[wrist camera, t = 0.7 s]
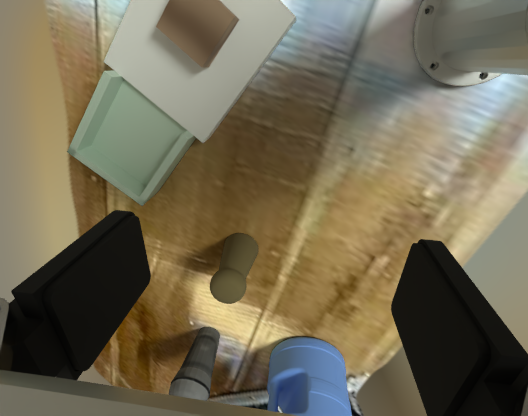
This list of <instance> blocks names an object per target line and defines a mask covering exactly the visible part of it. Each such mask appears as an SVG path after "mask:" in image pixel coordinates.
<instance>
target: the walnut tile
mask: <svg viewBox="0 0 528 416" xmlns="http://www.w3.org/2000/svg"><path fill="white" fill-rule="evenodd" d="M238 21H239V19H238V18H237V17H236V16H235V15H234V14H233V13H232V12H231V11H230V10H229V9H228V8H227V7H226V6H225V5H224V4H223V3H222V2H221V1H220V0H169V2H168V4H167V5H166V7H165V9H164V11H163V13H162V15H161V17H160V19H159V21H158V23H157V25H156V27H157V28H158V29H159V30H160V31H161V32H162V33H164V34H165V35H166V36H167V37H168V38H169V39H170V40H171V41H173V42H174V43H175V44H176V45H177V46H178V47H179V48H180V49H182V50H183V51H184V52H185V53H186V54H187V55H188V56H189V57H191V58H192V59H193V60H194V61H195V62H196V63H197V64H198V65H200V66H201V67H202V68H206V67H210V65H211V63H212V62H213V60H214V59H215V57H216V56H217V54H218V52H219V51H220V49H221V48H222V46H223V45H224V43H225V42H226V40H227V38H228V37H229V35H230V34H231V32H232V31H233V29H234V28H235V26H236V24H237V23H238Z"/></svg>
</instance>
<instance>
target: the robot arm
mask: <svg viewBox="0 0 528 416" xmlns="http://www.w3.org/2000/svg"><path fill="white" fill-rule="evenodd" d="M425 9H428V14H425ZM414 48H415V52H416V57H417V59H418V61H419V63H420V65H421V67H422V68H423V69H424V71H425V72H426V73H427V74H428V75H429V76H431V77H432V78H433V79H435V80H437V81H439V82H441V83H444V84H448V85H453V86H471V85H477V84H481V83H484V82H487V81H489V80H492V79H494V78H496V77H498V76H500V75H501V74H517V75H528V0H423V2H422V4H421V6H420V8H419V11H418V14H417V18H416V21H415V28H414ZM432 63H433V68H430V65H431V64H432ZM480 74H482V75H481V77H479V76H480ZM150 277H151V275H150V269H149V265H148V260H147V255H146V250H145V245H144V240H143V235H142V231H141V226H140V221H139V218H138V217H137V216H135V214H134V213H133V212H130V211H119V210H115V211H113V212H112V213H110V214H109V215H108V216H106V217H105V218H104V219H103V220H101V221H100V222H99V223H97V224H96V225H95V226H94V227H92V228H91V229H90V230H88V231H87V232H86V233H85V234H83V235H82V236H81V237H80V238H78V239H77V240H76V241H74V242H73V243H72V244H71V245H69V246H68V247H67V248H66V249H64V250H63V251H62V252H61V253H59V254H58V255H57V256H56V257H54V258H53V259H51V260H50V261H49V262H48V263H46V264H45V265H44V266H42V267H41V268H40V269H39V270H37V271H36V272H35V273H33V274H32V275H31V276H30V277H28V278H27V279H26V280H25V281H23V282H22V283H21V284H20V285H18V286H17V287H16V288H14V289H13V290H12V294H13V296H14V297H15V299H14V300H13V301H12V302H10V303H8V302H7V301H6V300H5V299H3V298H0V416H297V415H291V414H285V413H279V412H273V411H267V410H260V409H254V408H248V407H242V406H236V405H229V404H223V403H217V402H211V401H205V400H198V399H192V398H186V397H180V396H173V395H167V394H161V393H154V392H148V391H142V390H135V389H129V388H122V387H116V386H109V385H103V384H96V383H90V382H83V381H77V379H78V378H79V376H80V375H81V373H82V372H83V371H86V370H88V369H89V368H90V367H91V365H92V364H93V363H94V361H95V360H96V358H97V357H98V355H99V354H100V353H101V351H102V350H103V348H104V347H105V345H106V344H107V343H108V341H109V340H110V338H111V337H112V335H113V334H114V333H115V331H116V330H117V328H118V327H119V326H120V324H121V323H122V321H123V320H124V318H125V317H126V316H127V314H128V313H129V311H130V310H131V308H132V307H133V306H134V304H135V303H136V301H137V300H138V298H139V297H140V296H141V294H142V293H143V291H144V290H145V288H146V287H147V286H148V284H149V282H150ZM391 311H392V315H393V318H394V321H395V324H396V327H397V330H398V333H399V335H400V338H401V341H402V344H403V347H404V350H405V353H406V356H407V359H408V361H409V364H410V367H411V370H412V373H413V376H414V379H415V381H416V384H417V387H418V390H419V393H420V396H421V399H422V402H423V404H424V407H425V410H426V413H427V416H528V354H527V352H526V351H525V350H524V349H523V347H522V346H521V345H520V343H519V342H518V341H517V340H516V338H515V337H514V336H513V334H512V333H511V331H510V330H509V329H508V328H507V326H506V325H505V324H504V322H503V321H502V320H501V318H500V317H499V316H498V314H497V313H496V312H495V311H494V309H493V308H492V307H491V305H490V304H489V303H488V301H487V300H486V299H485V297H484V296H483V295H482V294H481V292H480V291H479V290H478V288H477V287H476V286H475V284H474V283H473V282H472V280H471V279H470V278H469V276H468V275H467V274H466V273H465V271H464V270H463V269H462V267H461V266H460V265H459V263H458V262H457V261H456V259H455V258H454V257H453V255H452V254H451V253H450V252H449V250H448V249H447V248H446V246H445V245H444V244H443V243H442V242H441V241H434V240H424V239H421V240H419V241H418V243H413V244H412V246H411V249H410V251H409V254H408V257H407V260H406V263H405V266H404V269H403V272H402V275H401V278H400V281H399V283H398V286H397V289H396V292H395V295H394V298H393V301H392V305H391Z"/></svg>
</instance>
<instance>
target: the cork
mask: <svg viewBox="0 0 528 416" xmlns="http://www.w3.org/2000/svg"><path fill="white" fill-rule="evenodd" d="M257 254H258V245H257V243H256V241H255V240H254V239H253V238H252V237H250V236H249V235H247V234H243V233H235V234H232V235H230V236H229V237H227V239H226V240H225V244H224V248H223V253H222V257H221V262H220V267H219V271H217V272H216V273H215V274H214V275H213V277H212V279H211V282H210V290H211V293H212V295H213V297H214V298H215V299H217V300H218V301H220V302H222V303H227V304H231V303H235V302H237V301H239V300H240V299H241V298H242V297H243V296H244V294H245V291H246V277H247V275H248V273H249V271H250V269H251V267H252V265H253V262H254V260H255V258H256V256H257Z"/></svg>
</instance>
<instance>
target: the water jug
mask: <svg viewBox="0 0 528 416" xmlns="http://www.w3.org/2000/svg"><path fill="white" fill-rule="evenodd" d="M267 390H268V394H269V401H268V411H273V412H277V411H278V405H279V406H280V407H281V409H282V410H283V413H285V414H291V415H297V416H352V415H351V407H350V402H349V398H348V390H347V383H346V369H345V362H344V359H343V357H342V355H341V353H340V352H339V351H338V350H337V349H336V348H335V347H334V346H332V345H331V344H329V343H327V342H325V341H323V340H320V339H316V338H311V337H295V338H290V339H287V340H285V341H283V342H281V343H279V344H278V345H277V346H276V347H275V348H274V349H273V351H272V353H271V355H270V362H269V376H268V385H267Z"/></svg>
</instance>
